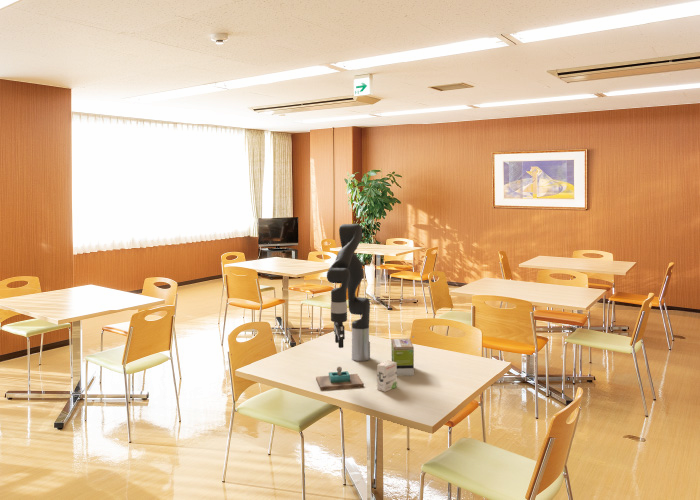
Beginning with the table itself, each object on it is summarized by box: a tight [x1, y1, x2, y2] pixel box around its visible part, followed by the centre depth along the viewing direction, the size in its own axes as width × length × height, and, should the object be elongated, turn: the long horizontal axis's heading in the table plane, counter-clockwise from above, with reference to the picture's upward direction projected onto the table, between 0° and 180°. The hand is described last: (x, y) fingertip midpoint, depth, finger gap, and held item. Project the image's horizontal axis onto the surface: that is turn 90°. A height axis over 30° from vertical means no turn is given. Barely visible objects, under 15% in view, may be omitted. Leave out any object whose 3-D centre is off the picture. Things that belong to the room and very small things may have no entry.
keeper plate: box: [315, 366, 365, 391], centre depth 254 cm, size 20×14×8 cm
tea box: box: [390, 338, 415, 377], centre depth 272 cm, size 15×10×15 cm
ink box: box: [376, 360, 398, 392], centre depth 248 cm, size 9×5×12 cm, turn 137°
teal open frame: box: [328, 370, 350, 383], centre depth 255 cm, size 9×6×3 cm, turn 101°
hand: (339, 345), depth 253 cm, fingers open, 8 cm apart
